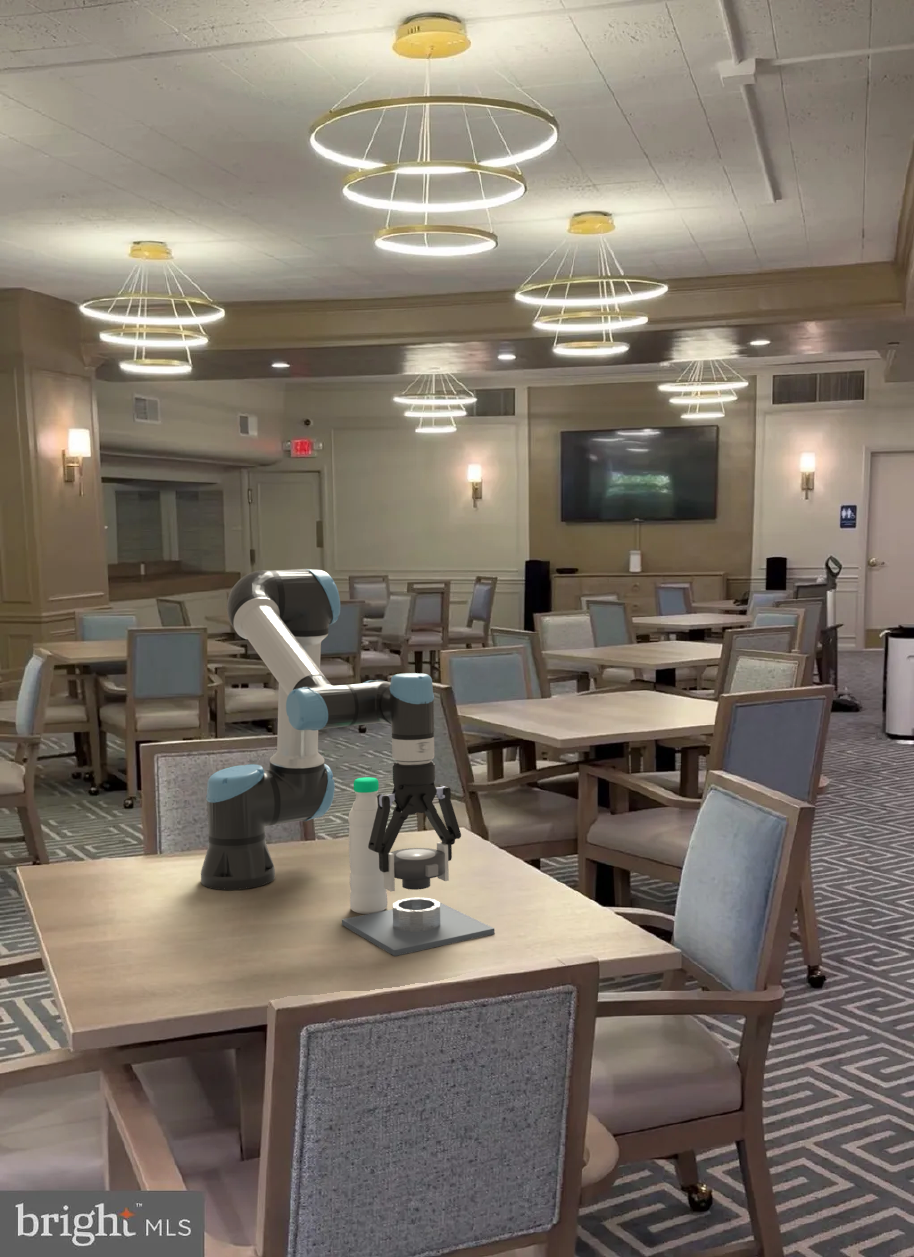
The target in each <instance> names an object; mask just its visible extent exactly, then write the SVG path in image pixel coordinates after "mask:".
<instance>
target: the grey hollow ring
mask: <svg viewBox="0 0 914 1257" xmlns="http://www.w3.org/2000/svg"><path fill="white" fill-rule="evenodd" d="M440 903H441V902H440V901H438V900H437V899H434V898H429V897H423V896H422V897H409V898H408V897H407V898H402V899H398V900H397V901H394V902H393V903H392V909H393V927H395V928H397V929H399V930H404V931H410V932H413V931H427V930H431V929H435V928H437V927H438V926H440Z"/></svg>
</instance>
